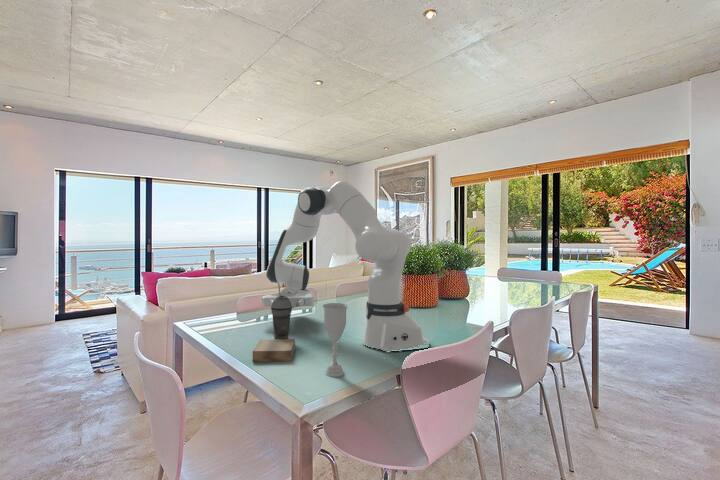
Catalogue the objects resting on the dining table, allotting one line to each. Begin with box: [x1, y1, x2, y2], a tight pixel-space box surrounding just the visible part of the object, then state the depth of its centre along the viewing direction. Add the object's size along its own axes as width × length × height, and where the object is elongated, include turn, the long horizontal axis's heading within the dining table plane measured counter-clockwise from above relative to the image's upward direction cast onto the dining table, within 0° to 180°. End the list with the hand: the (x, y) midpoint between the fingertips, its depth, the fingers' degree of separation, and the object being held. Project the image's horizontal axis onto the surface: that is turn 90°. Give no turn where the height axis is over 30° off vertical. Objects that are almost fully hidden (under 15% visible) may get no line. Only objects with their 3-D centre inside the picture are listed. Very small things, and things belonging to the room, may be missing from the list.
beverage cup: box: [270, 283, 293, 339], centre depth 119 cm, size 7×7×20 cm
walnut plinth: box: [252, 338, 296, 362], centre depth 105 cm, size 11×11×3 cm
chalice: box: [322, 302, 349, 378], centre depth 92 cm, size 7×7×18 cm
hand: (285, 304), depth 131 cm, fingers open, 8 cm apart
